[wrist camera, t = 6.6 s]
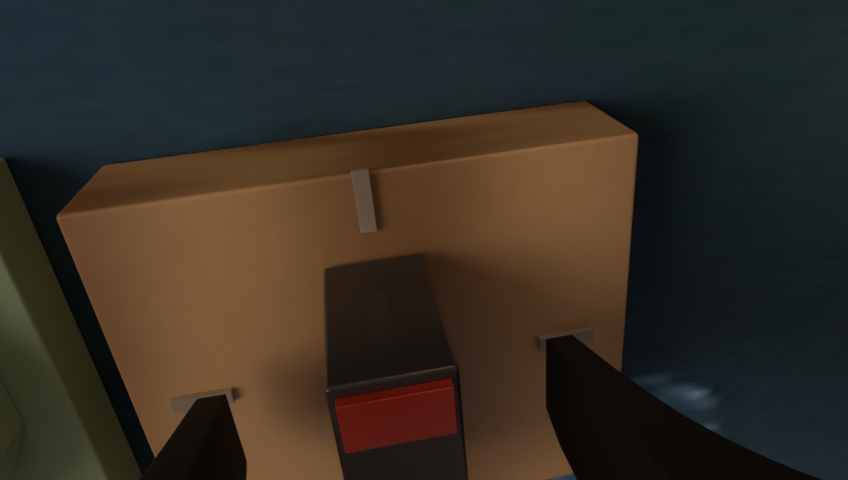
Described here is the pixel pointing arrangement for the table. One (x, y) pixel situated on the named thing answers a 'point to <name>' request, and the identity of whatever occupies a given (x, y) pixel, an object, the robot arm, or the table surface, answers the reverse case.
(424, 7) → the table surface
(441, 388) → the red-striped dark box
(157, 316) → the control panel
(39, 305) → the button box
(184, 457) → the robot arm
